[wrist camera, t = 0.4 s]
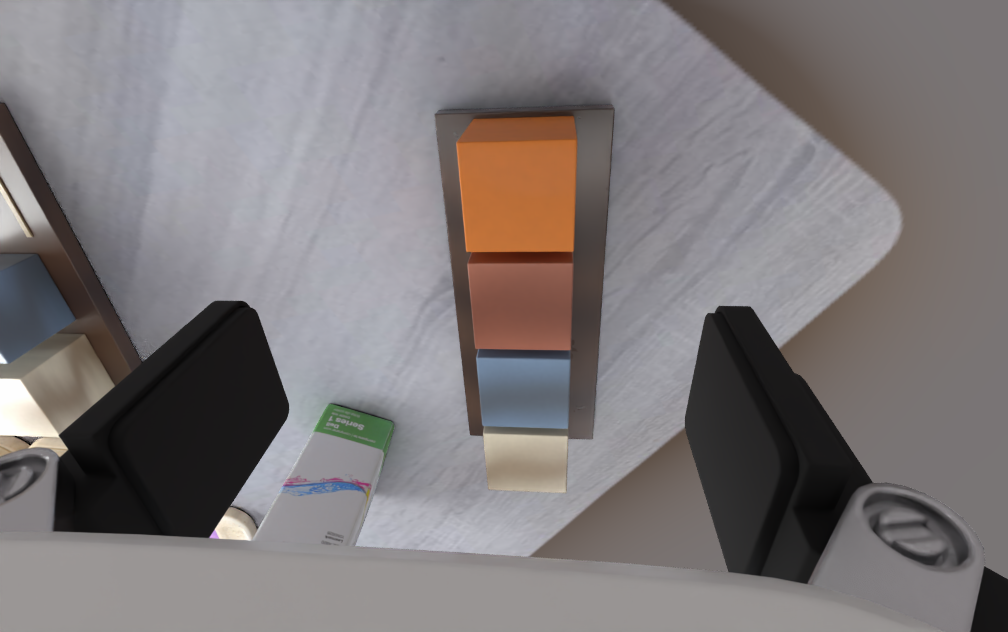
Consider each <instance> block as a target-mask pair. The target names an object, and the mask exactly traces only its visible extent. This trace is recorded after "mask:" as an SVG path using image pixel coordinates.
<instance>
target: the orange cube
mask: <svg viewBox="0 0 1008 632" xmlns="http://www.w3.org/2000/svg"><path fill="white" fill-rule="evenodd" d="M456 146H457V157H458V168H459V178H460V189H461V200H462V211H463V222H464V233H465V243H466V251H467V252H573V251H574V234H575V201H576V169H577V134H576V128H575V121H574V116H555V117H522V118H489V119H473V120H472V122H471V123H470V125H469V126H468V127H467V129H466V130H465V131H464V133H463V134H462V136H461V137H460V138H459V140H458V141H457V143H456Z"/></svg>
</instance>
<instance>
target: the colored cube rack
mask: <svg viewBox="0 0 1008 632" xmlns="http://www.w3.org/2000/svg"><path fill="white" fill-rule="evenodd" d="M614 111H615V109H614V107H613V105H585V106H554V107H523V108H492V109H462V110H439V111H438V112H437V113H436V114H435V124H436V133H437V142H438V151H439V160H440V169H441V178H442V187H443V196H444V205H445V214H446V223H447V232H448V241H449V250H450V259H451V268H452V277H453V286H454V295H455V304H456V313H457V322H458V331H459V340H460V349H461V358H462V367H463V376H464V385H465V394H466V403H467V412H468V421H469V430H470V435H476V436H483V439H484V449H485V460H486V471H487V482H488V489H489V490H503V491H526V492H549V493H566V491H567V459H568V439H593V426H594V411H595V396H596V381H597V366H598V351H599V336H600V321H601V306H602V291H603V276H604V261H605V246H606V231H607V216H608V201H609V186H610V171H611V156H612V141H613V126H614ZM555 116H574V121H575V128H576V134H577V169H576V201H575V234H574V251H573V252H467V251H466V243H465V233H464V222H463V211H462V200H461V189H460V178H459V168H458V157H457V146H456V143H457V141H458V140H459V138H460V137H461V136H462V134H463V133H464V131H465V130H466V129H467V127H468V126H469V125H470V123H471V122H472V120H473V119H489V118H522V117H555Z"/></svg>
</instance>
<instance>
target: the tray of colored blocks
mask: <svg viewBox="0 0 1008 632" xmlns="http://www.w3.org/2000/svg"><path fill="white" fill-rule="evenodd" d="M141 363H142V362H141V360H140V358H139V356H138V354H137V352H136V350H135V349H134V347H133V345H132V343H131V341H130V339H129V337H128V335H127V334H126V332H125V330H124V328H123V326H122V324H121V322H120V320H119V318H118V317H117V315H116V313H115V311H114V309H113V307H112V305H111V303H110V301H109V300H108V298H107V296H106V294H105V292H104V290H103V288H102V286H101V285H100V283H99V281H98V279H97V277H96V275H95V273H94V271H93V269H92V268H91V266H90V264H89V262H88V260H87V258H86V256H85V254H84V253H83V251H82V249H81V247H80V245H79V243H78V241H77V239H76V237H75V236H74V234H73V232H72V230H71V228H70V226H69V224H68V222H67V220H66V219H65V217H64V215H63V213H62V211H61V209H60V207H59V205H58V204H57V202H56V200H55V198H54V196H53V194H52V192H51V190H50V188H49V187H48V185H47V183H46V181H45V179H44V177H43V175H42V173H41V171H40V170H39V168H38V166H37V164H36V162H35V160H34V158H33V156H32V155H31V153H30V151H29V149H28V147H27V145H26V143H25V141H24V139H23V138H22V136H21V134H20V132H19V130H18V128H17V126H16V124H15V122H14V121H13V119H12V117H11V115H10V113H9V111H8V109H7V107H6V106H5V104H4V103H0V435H6V436H33V437H59V436H58V435H59V434H60V433H61V432H63V431H64V430H65V429H66V428H67V427H68V426H70V425H71V424H72V423H73V422H74V421H75V420H76V419H78V418H79V417H80V416H81V415H82V414H83V413H85V412H86V411H87V410H88V409H89V408H90V407H92V406H93V405H94V404H95V403H96V402H97V401H99V400H100V399H101V398H102V397H103V396H104V395H105V394H107V393H108V392H109V391H110V390H111V389H112V388H114V387H115V386H116V385H117V384H118V383H119V382H121V381H122V380H123V379H124V378H125V377H126V376H128V375H129V374H130V373H131V372H132V371H133V370H134V369H136V368H137V367H138V366H139V365H140V364H141Z"/></svg>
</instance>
